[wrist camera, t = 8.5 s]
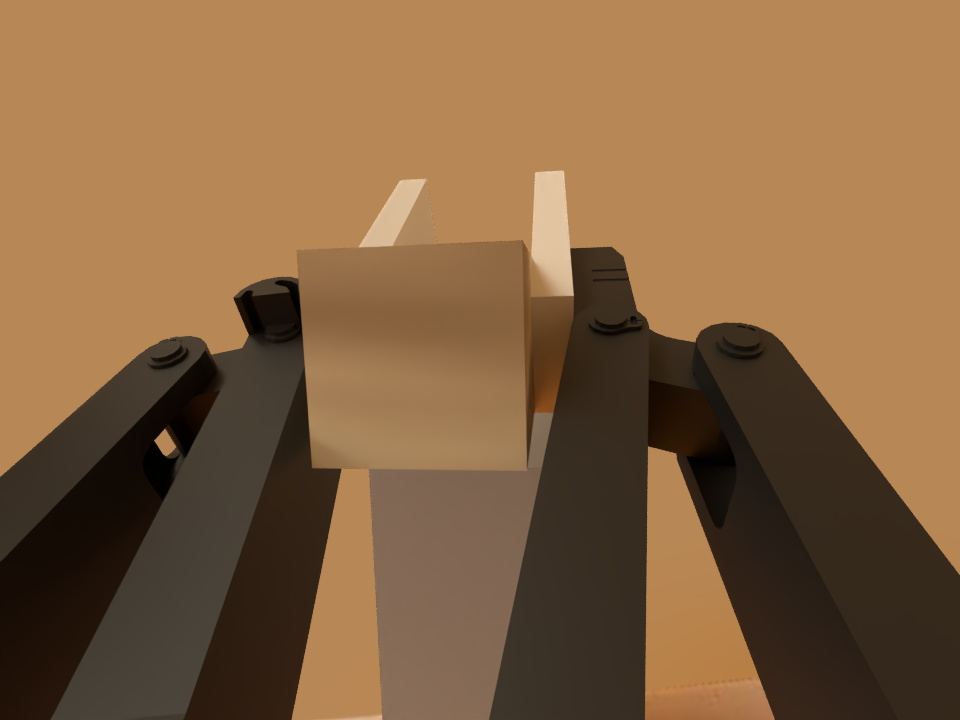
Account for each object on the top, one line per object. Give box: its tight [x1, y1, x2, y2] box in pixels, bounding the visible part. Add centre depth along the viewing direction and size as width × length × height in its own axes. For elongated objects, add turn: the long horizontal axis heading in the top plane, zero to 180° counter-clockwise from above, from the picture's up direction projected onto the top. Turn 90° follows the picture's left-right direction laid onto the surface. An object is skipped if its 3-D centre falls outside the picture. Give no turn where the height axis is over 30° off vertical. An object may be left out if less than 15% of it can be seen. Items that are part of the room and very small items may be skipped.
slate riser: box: [369, 413, 553, 720], centre depth 30 cm, size 16×10×30 cm, turn 172°
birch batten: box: [297, 240, 535, 471], centre depth 20 cm, size 26×3×3 cm, turn 173°
